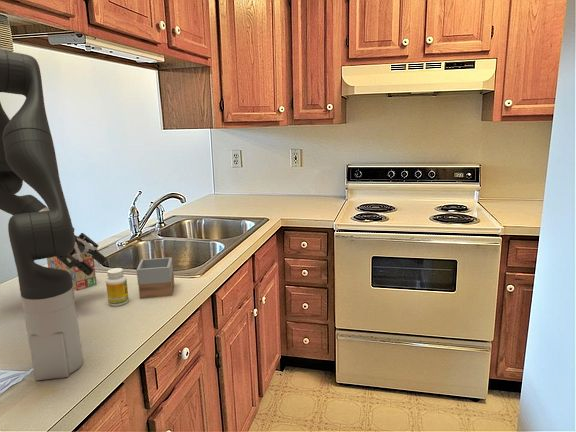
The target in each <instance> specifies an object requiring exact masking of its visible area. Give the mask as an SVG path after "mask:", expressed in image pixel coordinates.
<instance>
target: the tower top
mask: <svg viewBox="0 0 576 432" xmlns="http://www.w3.org/2000/svg"><path fill="white" fill-rule="evenodd" d="M173 268H174V266H173V257H160V258H159V257H158V258H145V259H140V262H139V264H138V266H137V268H136V277H137V278H136V279H137V285H138V286H139V285H141V284H154V283H167V282H171V278H172V274H173V273H174V269H173Z"/></svg>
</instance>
